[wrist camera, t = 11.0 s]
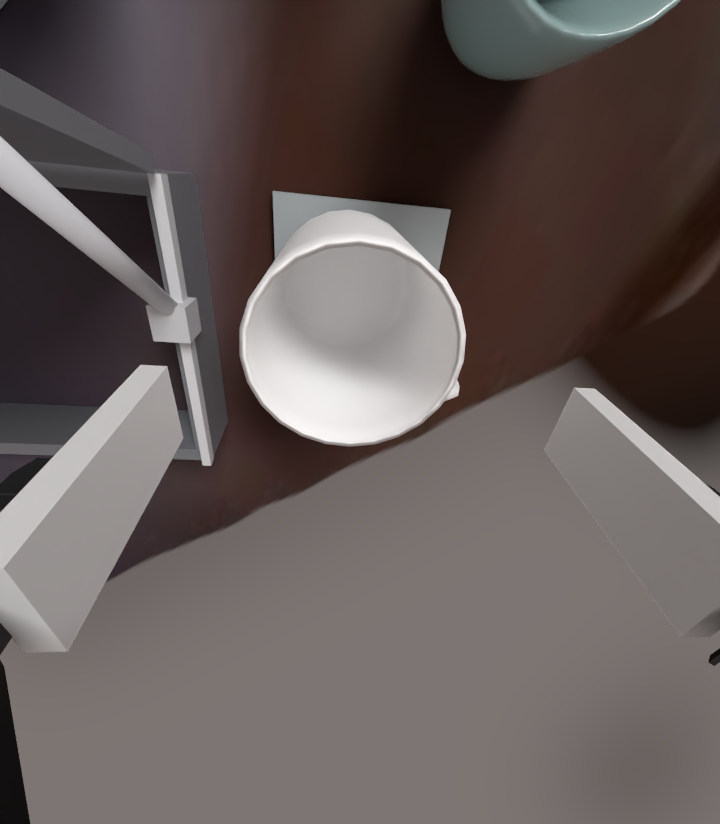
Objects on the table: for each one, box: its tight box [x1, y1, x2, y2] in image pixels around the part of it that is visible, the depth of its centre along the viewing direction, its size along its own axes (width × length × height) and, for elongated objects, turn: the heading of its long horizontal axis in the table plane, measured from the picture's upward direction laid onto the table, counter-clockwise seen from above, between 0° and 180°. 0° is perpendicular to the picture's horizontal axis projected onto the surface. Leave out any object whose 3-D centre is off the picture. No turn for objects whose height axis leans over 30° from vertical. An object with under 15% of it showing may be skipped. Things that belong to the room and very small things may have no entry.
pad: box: [273, 191, 451, 272], centre depth 26 cm, size 11×11×1 cm
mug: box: [239, 210, 466, 447], centre depth 21 cm, size 10×12×12 cm
